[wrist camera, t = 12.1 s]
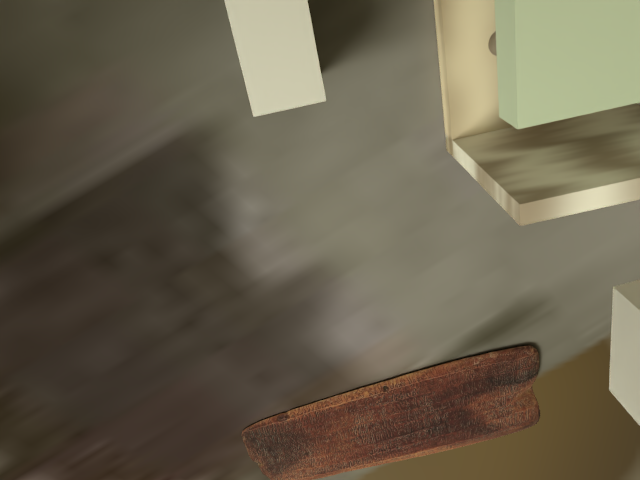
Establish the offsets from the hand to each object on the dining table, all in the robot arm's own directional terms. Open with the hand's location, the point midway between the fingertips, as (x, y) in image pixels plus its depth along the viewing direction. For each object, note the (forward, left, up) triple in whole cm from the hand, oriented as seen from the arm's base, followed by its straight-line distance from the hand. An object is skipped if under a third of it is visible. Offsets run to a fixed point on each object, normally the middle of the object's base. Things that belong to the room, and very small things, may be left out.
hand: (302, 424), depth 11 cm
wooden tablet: (+5, -30, -29) cm, 42 cm away
